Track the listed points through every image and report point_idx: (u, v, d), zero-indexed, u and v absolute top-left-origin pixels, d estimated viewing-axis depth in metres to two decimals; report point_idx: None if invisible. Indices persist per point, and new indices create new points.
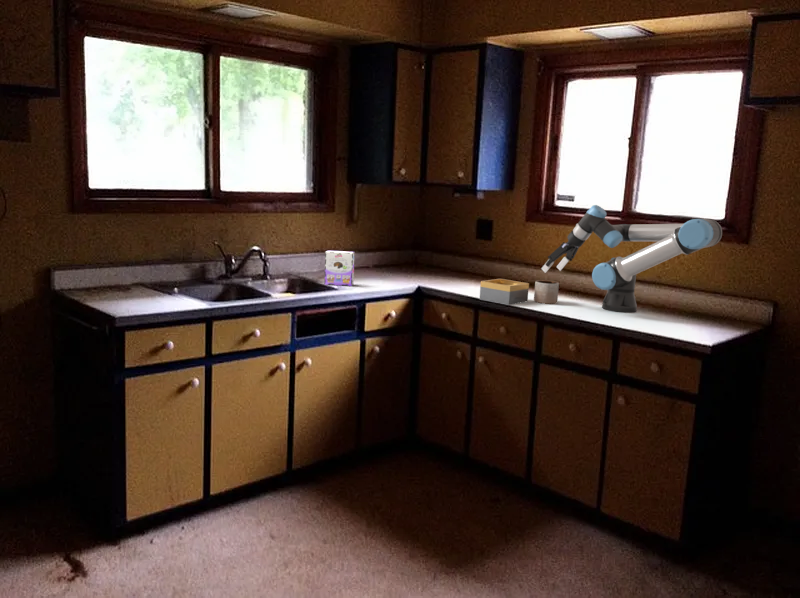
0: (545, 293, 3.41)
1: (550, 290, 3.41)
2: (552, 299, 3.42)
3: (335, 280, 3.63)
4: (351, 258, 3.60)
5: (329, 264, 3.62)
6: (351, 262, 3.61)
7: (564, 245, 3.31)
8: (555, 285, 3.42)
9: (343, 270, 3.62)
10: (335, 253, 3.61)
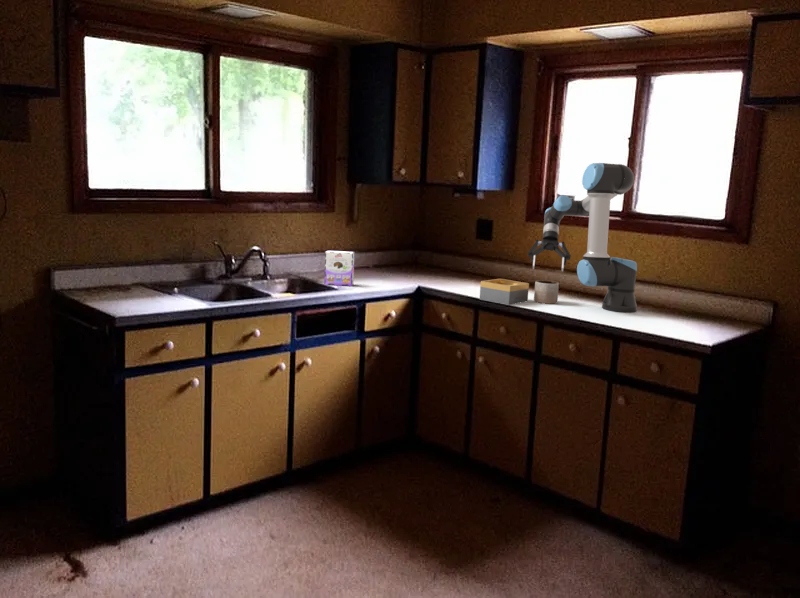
0: (545, 293, 3.41)
1: (550, 290, 3.41)
2: (552, 299, 3.42)
3: (335, 280, 3.63)
4: (351, 258, 3.61)
5: (329, 264, 3.62)
6: (351, 262, 3.61)
7: None
8: (555, 285, 3.42)
9: (343, 270, 3.62)
10: (335, 253, 3.61)
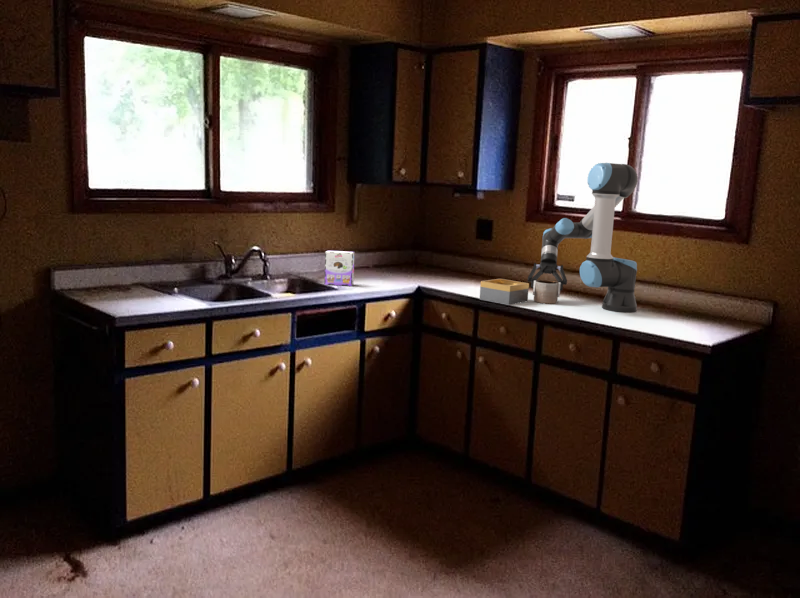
0: (545, 293, 3.41)
1: (550, 290, 3.41)
2: (552, 299, 3.42)
3: (335, 280, 3.63)
4: (351, 258, 3.60)
5: (329, 264, 3.62)
6: (351, 262, 3.61)
7: None
8: (555, 285, 3.42)
9: (343, 270, 3.62)
10: (335, 253, 3.61)
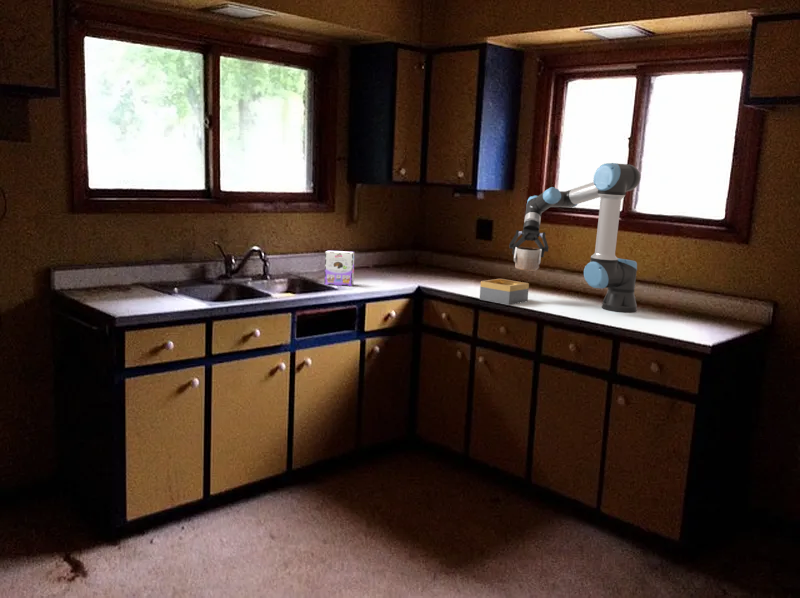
0: (526, 259, 3.40)
1: (531, 256, 3.40)
2: (533, 265, 3.41)
3: (335, 280, 3.63)
4: (351, 258, 3.61)
5: (329, 264, 3.62)
6: (351, 262, 3.61)
7: (516, 232, 3.53)
8: (536, 252, 3.40)
9: (343, 270, 3.62)
10: (335, 253, 3.61)
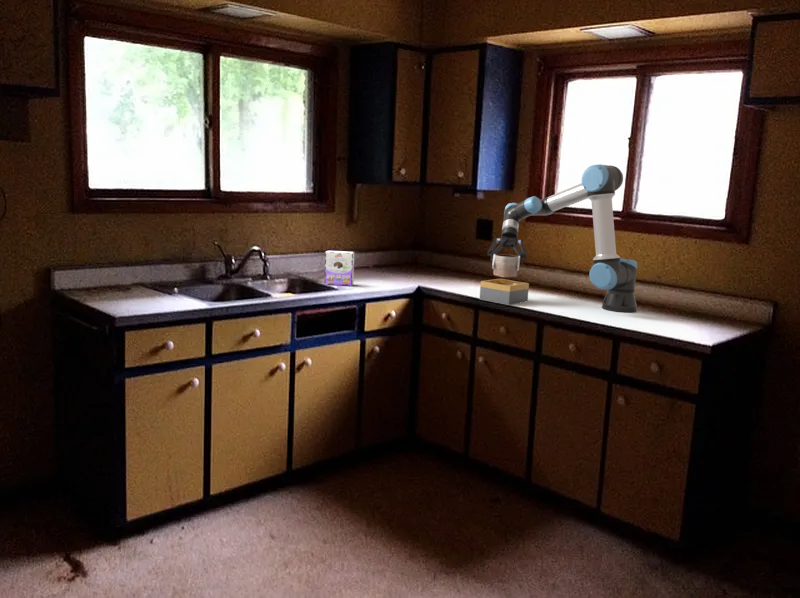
0: (504, 266, 3.38)
1: (509, 263, 3.38)
2: (511, 272, 3.39)
3: (335, 280, 3.63)
4: (351, 258, 3.60)
5: (329, 264, 3.62)
6: (351, 262, 3.61)
7: (494, 239, 3.50)
8: (514, 258, 3.38)
9: (343, 270, 3.62)
10: (335, 253, 3.61)
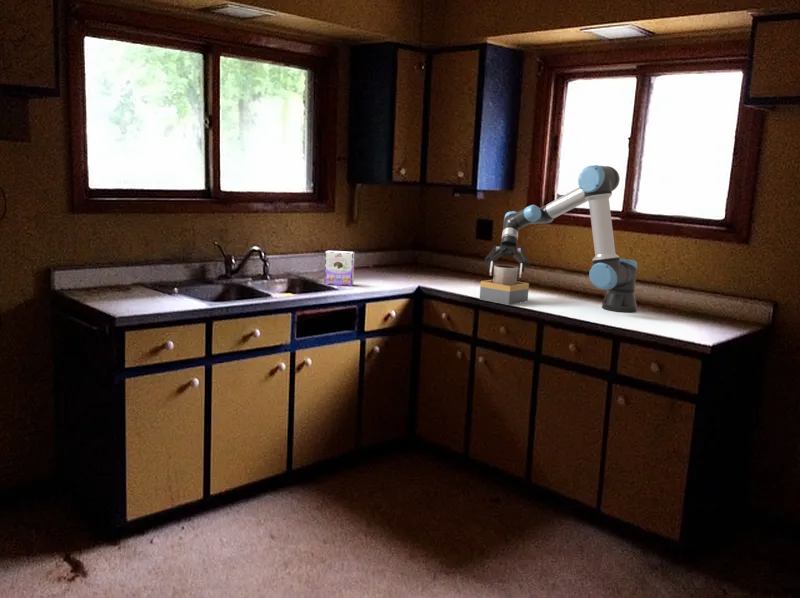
0: (503, 277, 3.39)
1: (508, 274, 3.39)
2: (511, 283, 3.40)
3: (335, 280, 3.63)
4: (351, 258, 3.61)
5: (329, 264, 3.62)
6: (351, 262, 3.61)
7: None
8: (513, 269, 3.39)
9: (343, 270, 3.62)
10: (335, 253, 3.61)
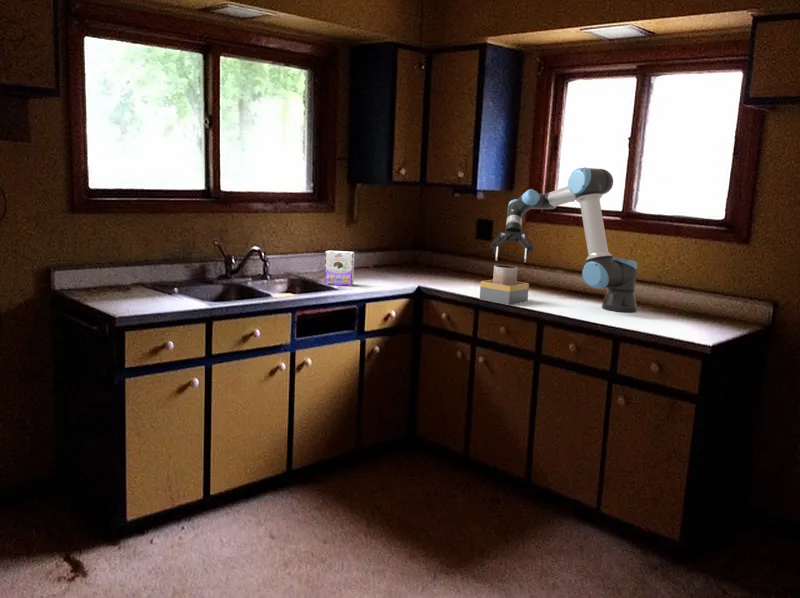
0: (503, 277, 3.39)
1: (508, 274, 3.39)
2: (511, 283, 3.40)
3: (335, 280, 3.63)
4: (351, 258, 3.61)
5: (329, 264, 3.62)
6: (351, 262, 3.61)
7: None
8: (513, 269, 3.39)
9: (343, 270, 3.62)
10: (335, 253, 3.61)
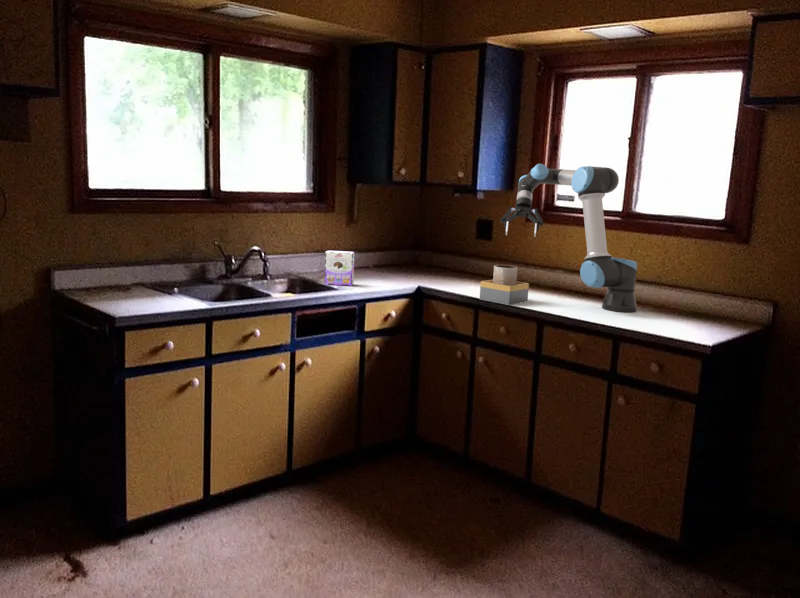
0: (503, 277, 3.39)
1: (508, 274, 3.39)
2: (511, 283, 3.40)
3: (335, 280, 3.63)
4: (351, 258, 3.61)
5: (329, 264, 3.62)
6: (351, 262, 3.61)
7: None
8: (513, 269, 3.39)
9: (343, 270, 3.62)
10: (335, 253, 3.61)
